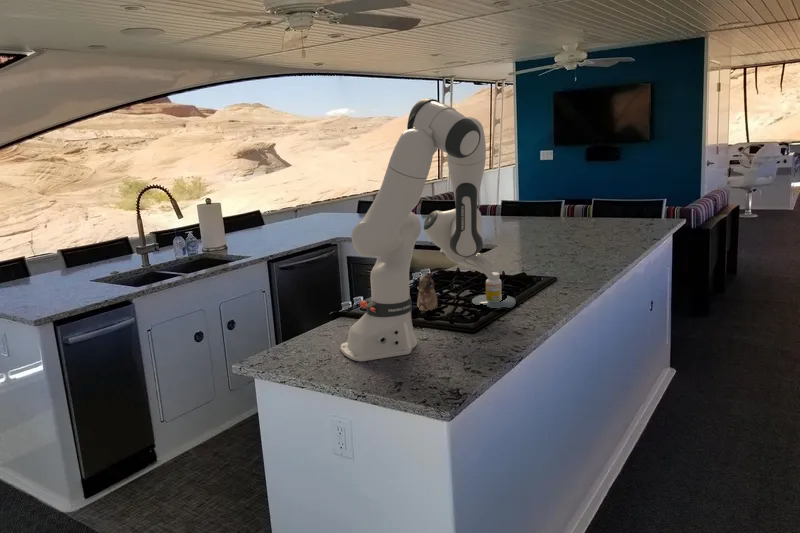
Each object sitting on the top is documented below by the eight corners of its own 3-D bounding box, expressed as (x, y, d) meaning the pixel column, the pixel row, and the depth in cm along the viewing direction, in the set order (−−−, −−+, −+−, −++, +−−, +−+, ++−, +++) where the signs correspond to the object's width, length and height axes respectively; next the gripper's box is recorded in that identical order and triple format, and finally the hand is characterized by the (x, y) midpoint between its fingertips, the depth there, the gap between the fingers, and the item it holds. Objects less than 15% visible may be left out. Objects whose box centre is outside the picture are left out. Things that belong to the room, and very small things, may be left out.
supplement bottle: (491, 297, 219) (491, 270, 216) (504, 299, 215) (504, 272, 213) (482, 301, 215) (482, 274, 212) (496, 303, 211) (496, 276, 209)
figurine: (413, 306, 216) (412, 273, 213) (431, 303, 219) (430, 270, 216) (422, 312, 210) (421, 278, 207) (441, 308, 213) (440, 275, 210)
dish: (488, 313, 205) (488, 310, 205) (463, 302, 218) (463, 299, 218) (524, 305, 212) (524, 301, 212) (498, 294, 225) (498, 291, 225)
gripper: (483, 247, 196) (506, 272, 203) (447, 236, 213) (470, 259, 221) (471, 263, 195) (495, 287, 202) (436, 250, 213) (460, 273, 220)
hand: (482, 273), depth 212 cm, fingers open, 8 cm apart
